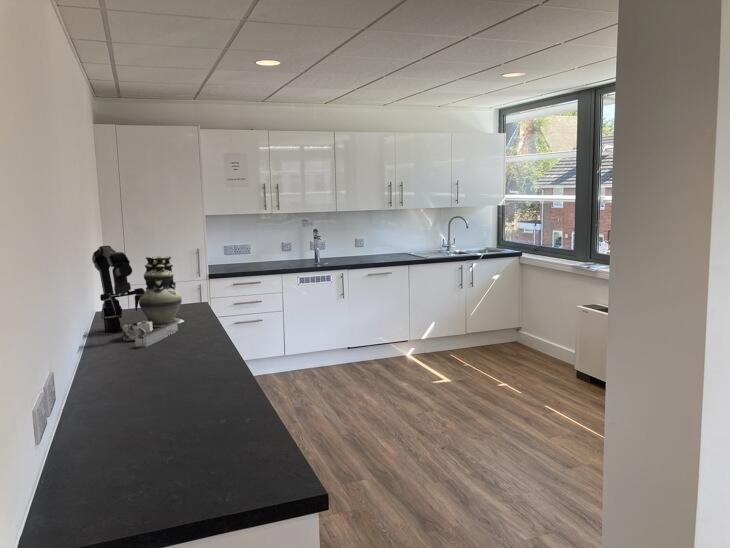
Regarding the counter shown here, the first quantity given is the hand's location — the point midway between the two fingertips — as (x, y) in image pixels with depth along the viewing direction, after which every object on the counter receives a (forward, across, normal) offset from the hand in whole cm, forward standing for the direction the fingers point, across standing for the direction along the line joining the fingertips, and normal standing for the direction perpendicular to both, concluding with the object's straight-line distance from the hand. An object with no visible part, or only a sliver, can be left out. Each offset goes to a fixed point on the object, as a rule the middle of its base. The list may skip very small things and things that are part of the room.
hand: (125, 312), depth 273 cm
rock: (+12, +2, +3) cm, 13 cm away
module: (+10, +6, +16) cm, 20 cm away
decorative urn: (+7, +13, +33) cm, 36 cm away
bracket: (+14, +12, -2) cm, 19 cm away
